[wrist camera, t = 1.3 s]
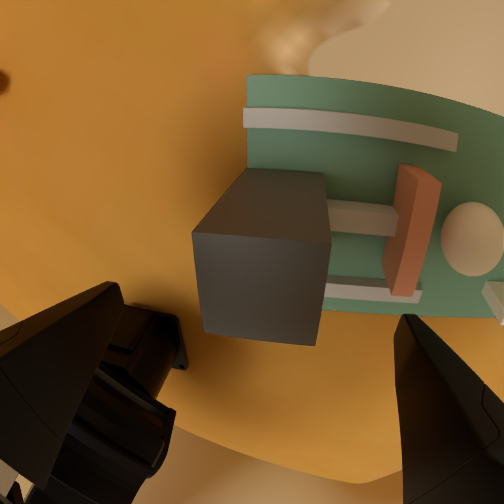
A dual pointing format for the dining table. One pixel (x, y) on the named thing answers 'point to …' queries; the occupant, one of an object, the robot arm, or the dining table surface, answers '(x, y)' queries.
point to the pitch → (383, 178)
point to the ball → (472, 239)
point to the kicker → (298, 249)
